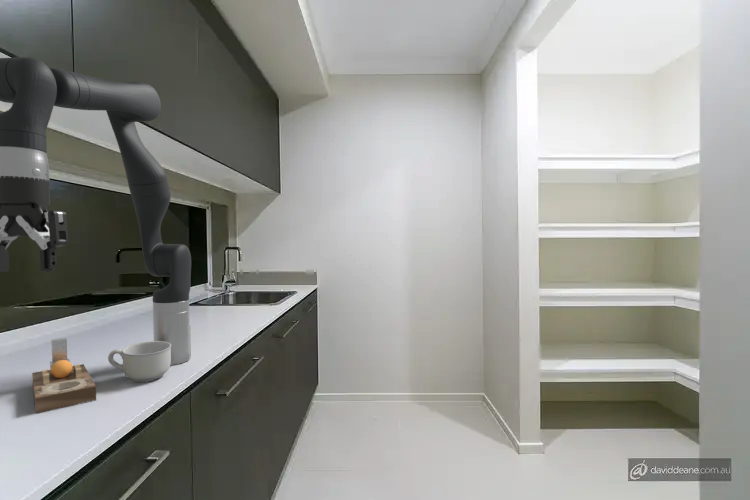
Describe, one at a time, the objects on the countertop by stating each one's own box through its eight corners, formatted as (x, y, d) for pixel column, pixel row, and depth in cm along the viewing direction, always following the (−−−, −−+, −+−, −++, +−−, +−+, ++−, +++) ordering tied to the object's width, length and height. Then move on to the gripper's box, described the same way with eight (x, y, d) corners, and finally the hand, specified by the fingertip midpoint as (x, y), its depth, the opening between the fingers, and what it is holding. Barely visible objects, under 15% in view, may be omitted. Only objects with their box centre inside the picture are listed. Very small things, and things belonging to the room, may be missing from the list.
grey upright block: (50, 371, 98) (49, 340, 97) (68, 368, 100) (67, 337, 100) (51, 375, 95) (50, 343, 94) (70, 372, 97) (69, 340, 97)
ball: (60, 374, 96) (60, 357, 96) (77, 374, 96) (76, 357, 96) (46, 380, 92) (45, 362, 92) (63, 380, 92) (62, 363, 92)
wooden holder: (32, 385, 97) (32, 364, 97) (83, 375, 104) (83, 356, 104) (36, 413, 82) (35, 388, 81) (96, 400, 88) (95, 377, 88)
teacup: (179, 370, 108) (178, 340, 108) (158, 385, 97) (158, 352, 97) (125, 371, 107) (124, 341, 107) (98, 386, 97) (98, 352, 96)
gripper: (78, 179, 73) (80, 270, 74) (3, 181, 74) (6, 270, 75) (41, 173, 66) (44, 273, 66) (-42, 174, 67) (-38, 273, 67)
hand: (24, 271), depth 70 cm, fingers open, 8 cm apart
